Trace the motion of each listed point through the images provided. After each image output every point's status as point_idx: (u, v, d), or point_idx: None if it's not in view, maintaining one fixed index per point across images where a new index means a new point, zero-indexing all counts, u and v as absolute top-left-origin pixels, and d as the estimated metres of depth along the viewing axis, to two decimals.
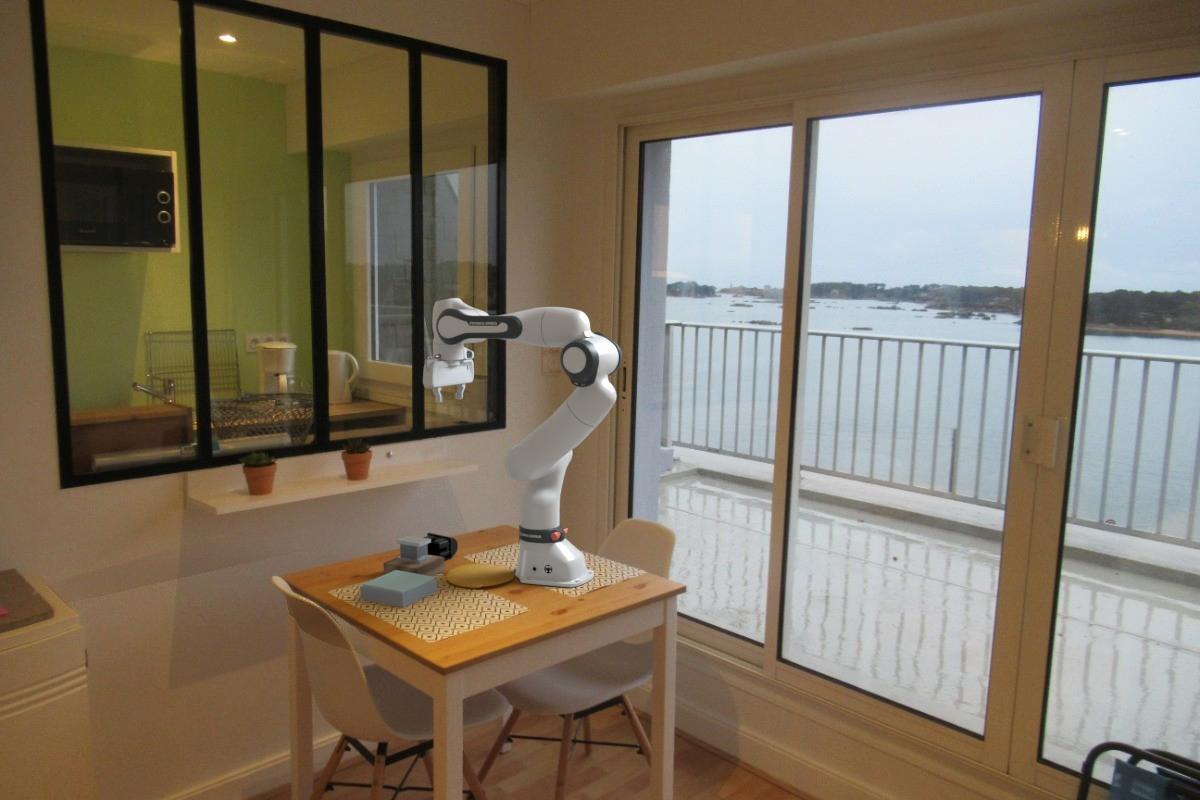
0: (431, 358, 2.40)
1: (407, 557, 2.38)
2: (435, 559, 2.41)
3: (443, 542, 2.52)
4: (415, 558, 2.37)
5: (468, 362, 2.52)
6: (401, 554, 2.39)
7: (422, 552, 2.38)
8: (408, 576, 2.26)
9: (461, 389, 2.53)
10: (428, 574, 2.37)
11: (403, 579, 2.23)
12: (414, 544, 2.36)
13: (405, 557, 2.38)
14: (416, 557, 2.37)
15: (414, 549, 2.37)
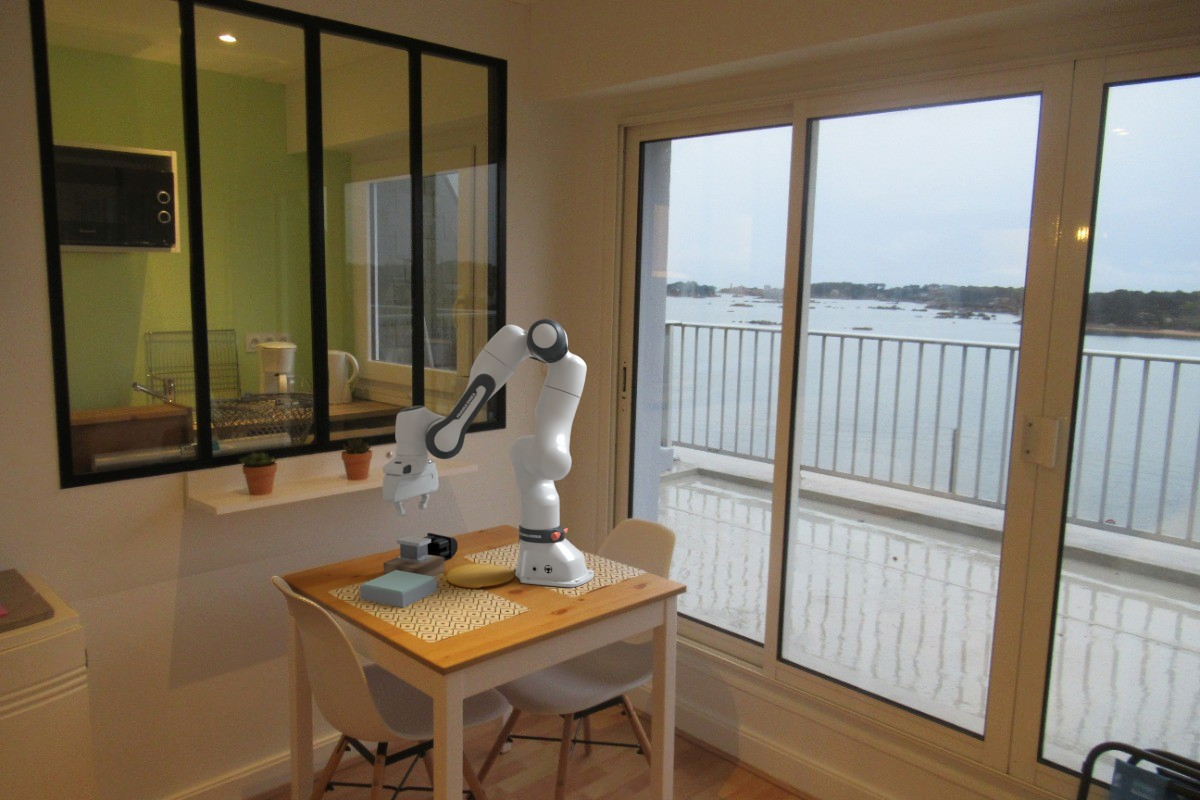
0: None
1: (407, 557, 2.38)
2: (435, 559, 2.41)
3: (443, 542, 2.52)
4: (415, 558, 2.37)
5: None
6: (401, 554, 2.39)
7: (422, 552, 2.38)
8: (408, 576, 2.26)
9: None
10: (428, 574, 2.37)
11: (403, 579, 2.23)
12: (414, 544, 2.36)
13: (405, 557, 2.38)
14: (416, 557, 2.37)
15: (414, 549, 2.37)
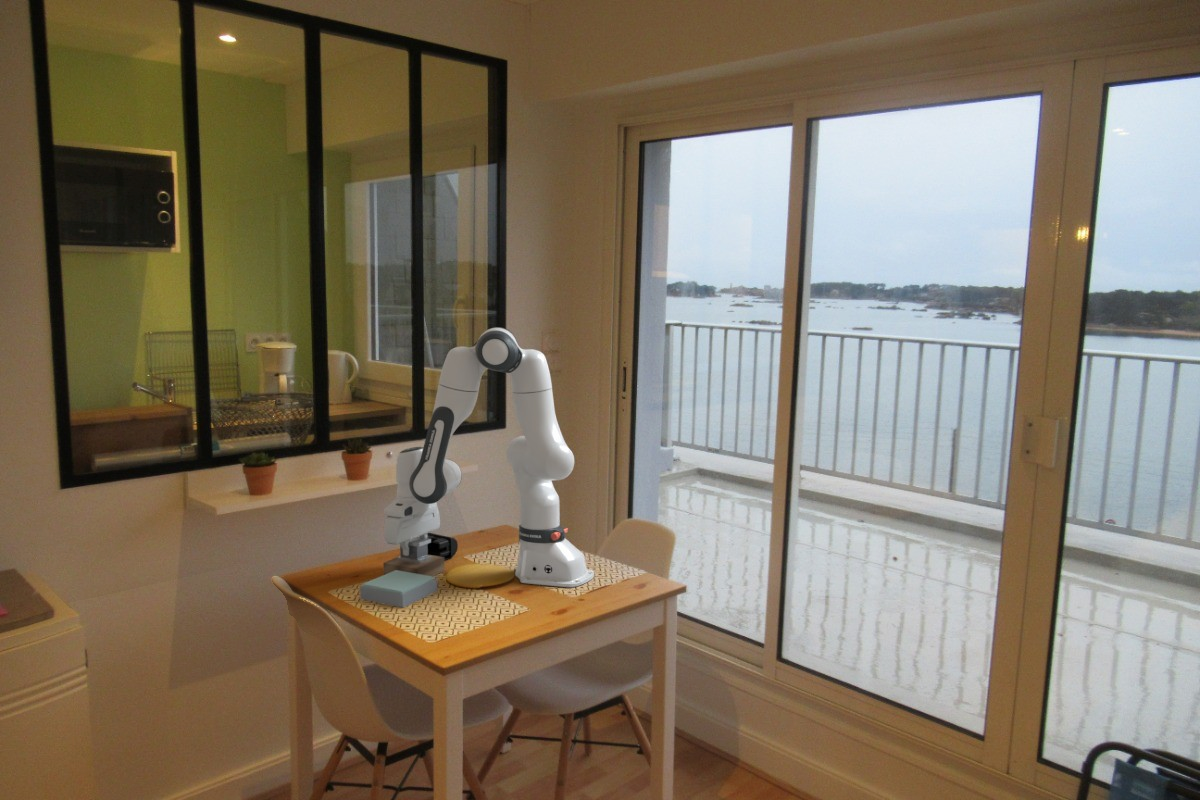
0: None
1: (407, 557, 2.38)
2: (435, 559, 2.41)
3: (443, 542, 2.52)
4: (415, 558, 2.37)
5: None
6: (401, 554, 2.39)
7: (422, 552, 2.38)
8: (408, 576, 2.26)
9: None
10: (428, 574, 2.37)
11: (403, 579, 2.23)
12: (414, 544, 2.36)
13: (405, 557, 2.38)
14: (416, 557, 2.37)
15: (414, 549, 2.37)
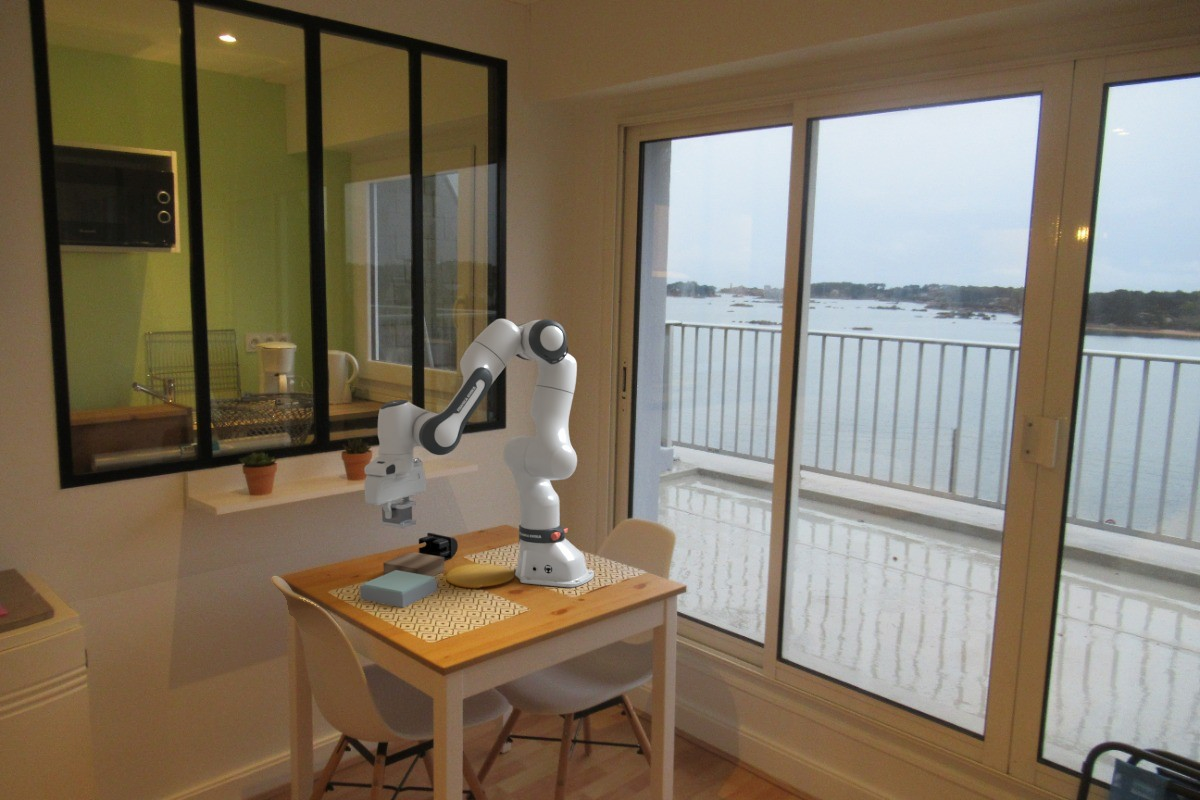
0: None
1: (389, 521, 2.19)
2: (435, 559, 2.41)
3: (443, 542, 2.52)
4: (399, 522, 2.17)
5: None
6: (383, 518, 2.20)
7: (406, 515, 2.19)
8: (408, 576, 2.26)
9: None
10: (428, 574, 2.37)
11: (403, 579, 2.23)
12: (397, 506, 2.17)
13: (387, 521, 2.19)
14: (399, 520, 2.17)
15: (397, 512, 2.17)
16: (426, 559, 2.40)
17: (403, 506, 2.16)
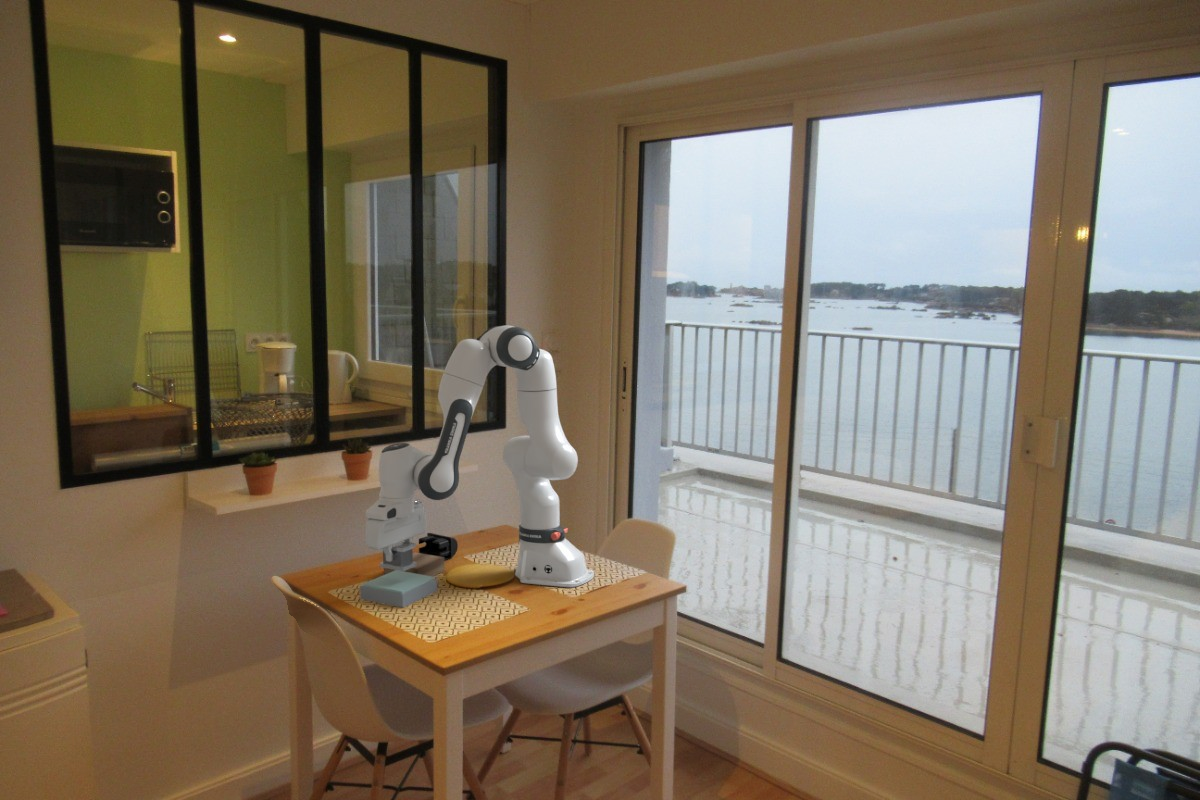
0: None
1: (390, 563, 2.20)
2: (435, 559, 2.41)
3: (443, 542, 2.52)
4: (399, 564, 2.19)
5: None
6: (384, 560, 2.21)
7: (406, 558, 2.20)
8: (408, 576, 2.26)
9: None
10: (428, 574, 2.37)
11: (403, 579, 2.23)
12: (398, 549, 2.18)
13: (388, 563, 2.20)
14: (400, 563, 2.18)
15: (398, 555, 2.18)
16: (426, 559, 2.40)
17: (404, 549, 2.18)
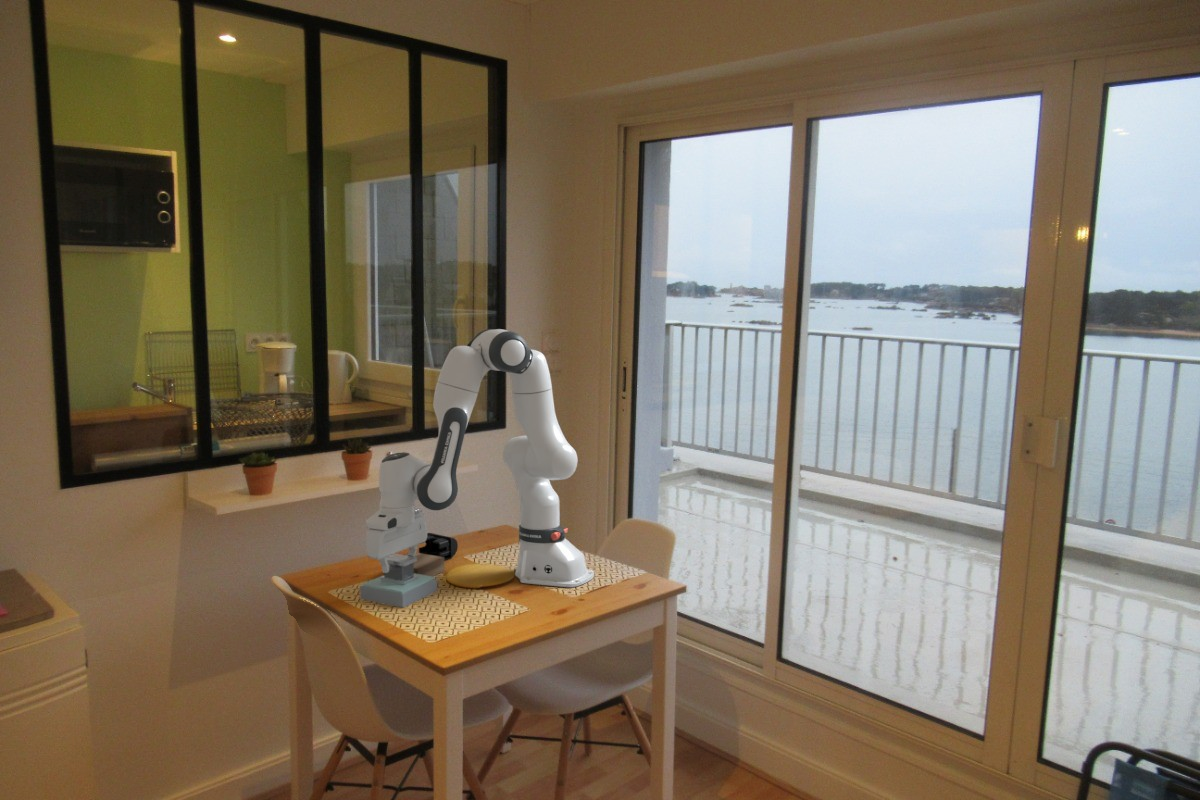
0: None
1: (391, 577, 2.20)
2: (435, 559, 2.41)
3: (443, 542, 2.52)
4: (400, 578, 2.19)
5: None
6: (385, 574, 2.21)
7: (407, 572, 2.21)
8: None
9: None
10: (428, 574, 2.37)
11: None
12: (399, 563, 2.18)
13: (389, 577, 2.21)
14: (401, 577, 2.19)
15: (399, 569, 2.19)
16: (426, 559, 2.40)
17: (405, 563, 2.18)
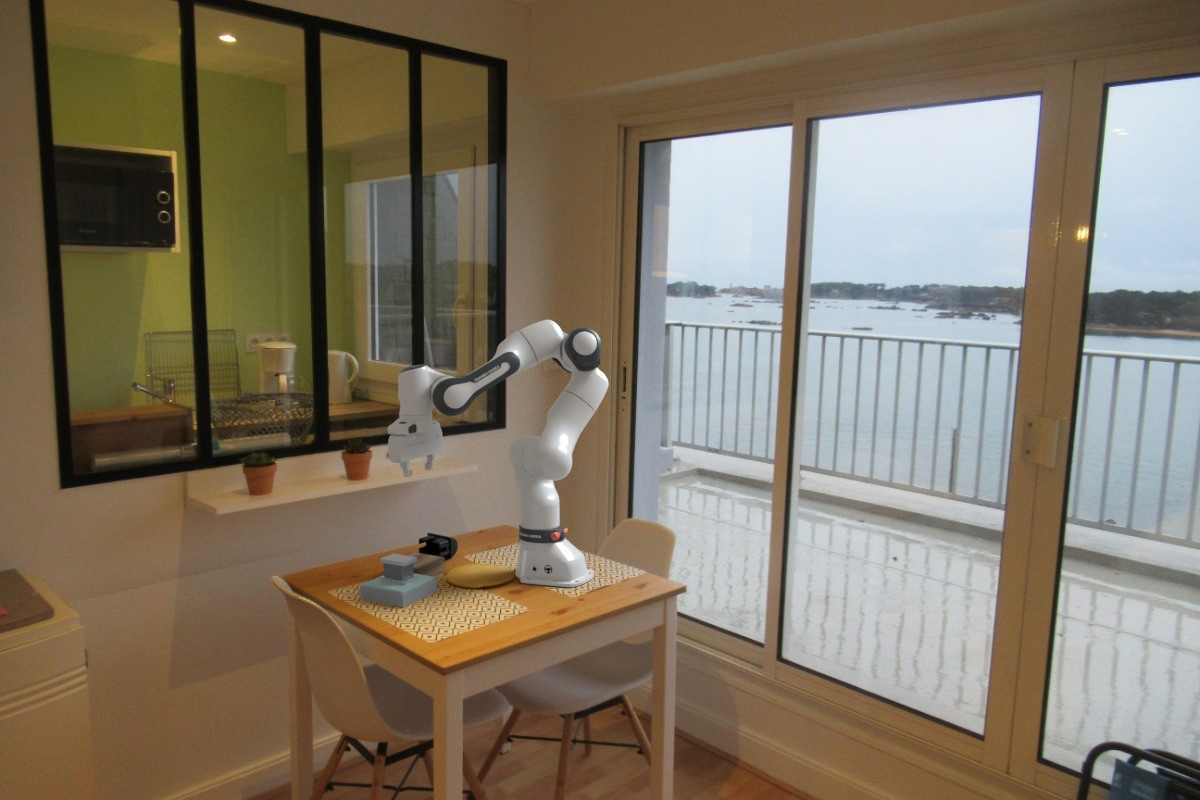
0: None
1: (391, 577, 2.20)
2: (435, 559, 2.41)
3: (443, 542, 2.52)
4: (400, 578, 2.19)
5: None
6: (385, 574, 2.21)
7: (407, 572, 2.21)
8: None
9: None
10: (428, 574, 2.37)
11: None
12: (399, 563, 2.18)
13: (389, 577, 2.21)
14: (401, 577, 2.19)
15: (399, 569, 2.19)
16: (426, 559, 2.40)
17: (405, 563, 2.18)
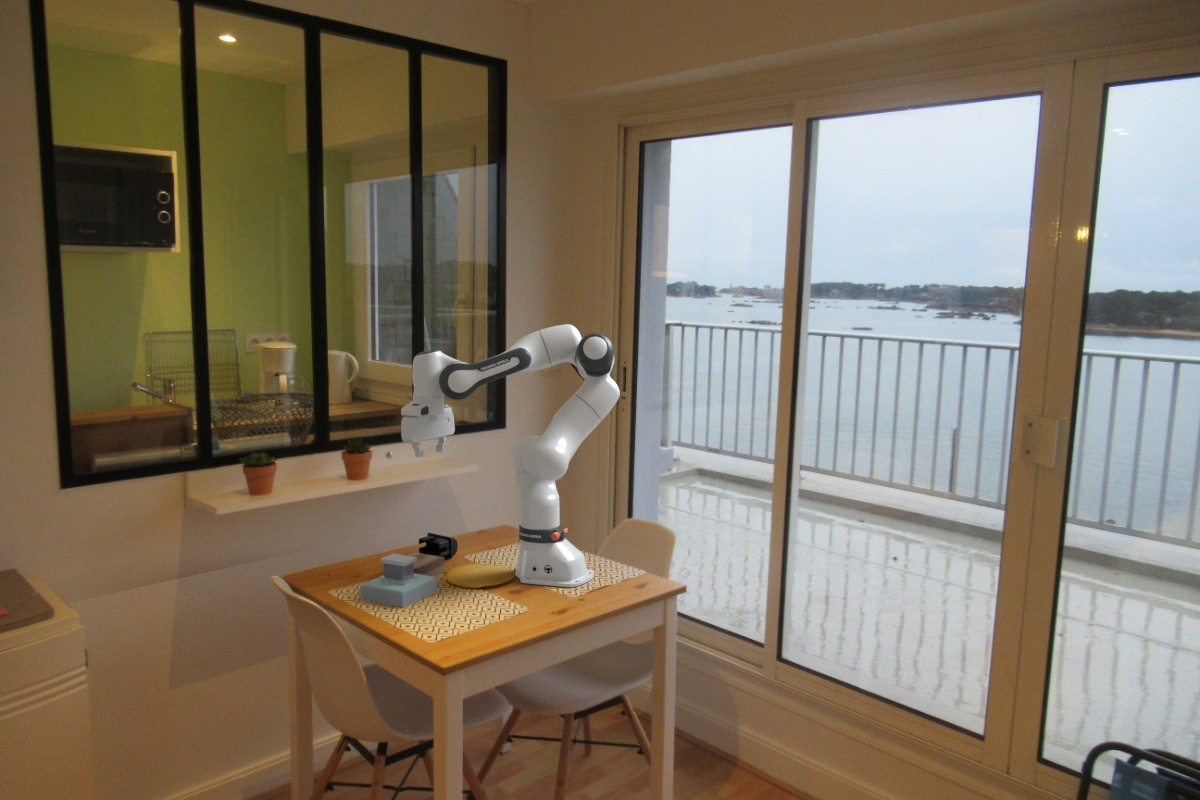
0: None
1: (391, 577, 2.20)
2: (435, 559, 2.41)
3: (443, 542, 2.52)
4: (400, 578, 2.19)
5: None
6: (385, 574, 2.21)
7: (407, 572, 2.21)
8: None
9: None
10: (428, 574, 2.37)
11: None
12: (399, 563, 2.18)
13: (389, 577, 2.21)
14: (401, 577, 2.19)
15: (399, 569, 2.19)
16: (426, 559, 2.40)
17: (405, 563, 2.18)
